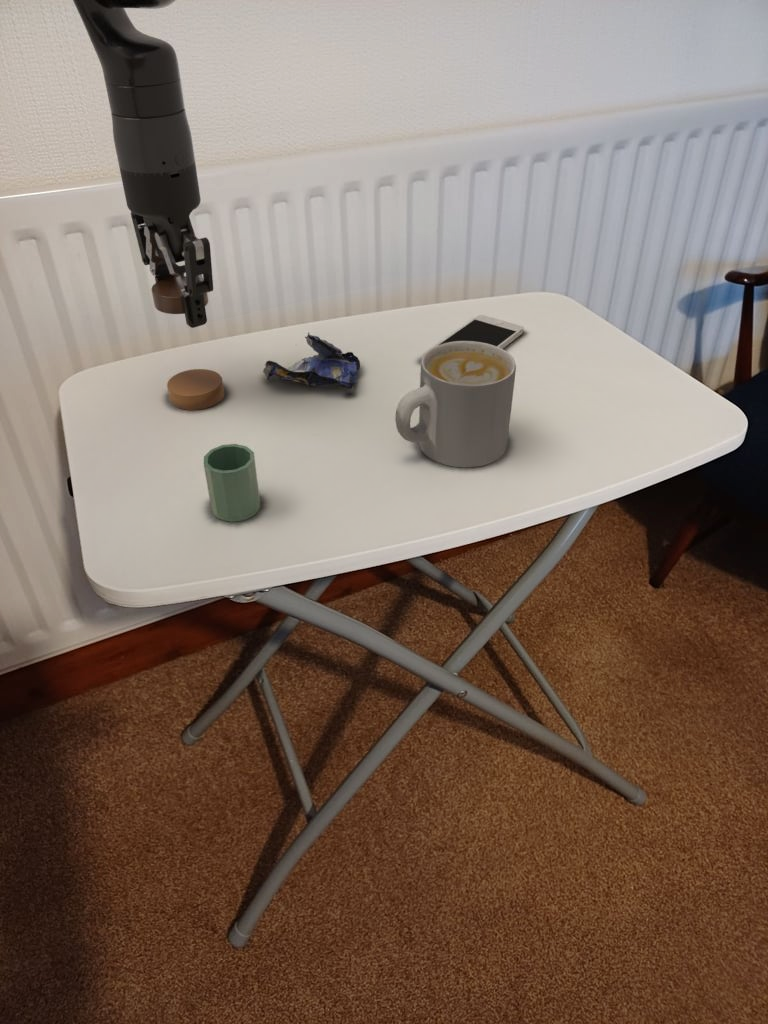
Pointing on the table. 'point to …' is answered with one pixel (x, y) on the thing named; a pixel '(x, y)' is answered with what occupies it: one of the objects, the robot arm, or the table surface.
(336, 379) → the snack package
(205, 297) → the walnut chip
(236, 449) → the plastic cup
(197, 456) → the table surface
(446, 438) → the coffee mug
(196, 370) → the oak chip
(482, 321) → the smartphone
